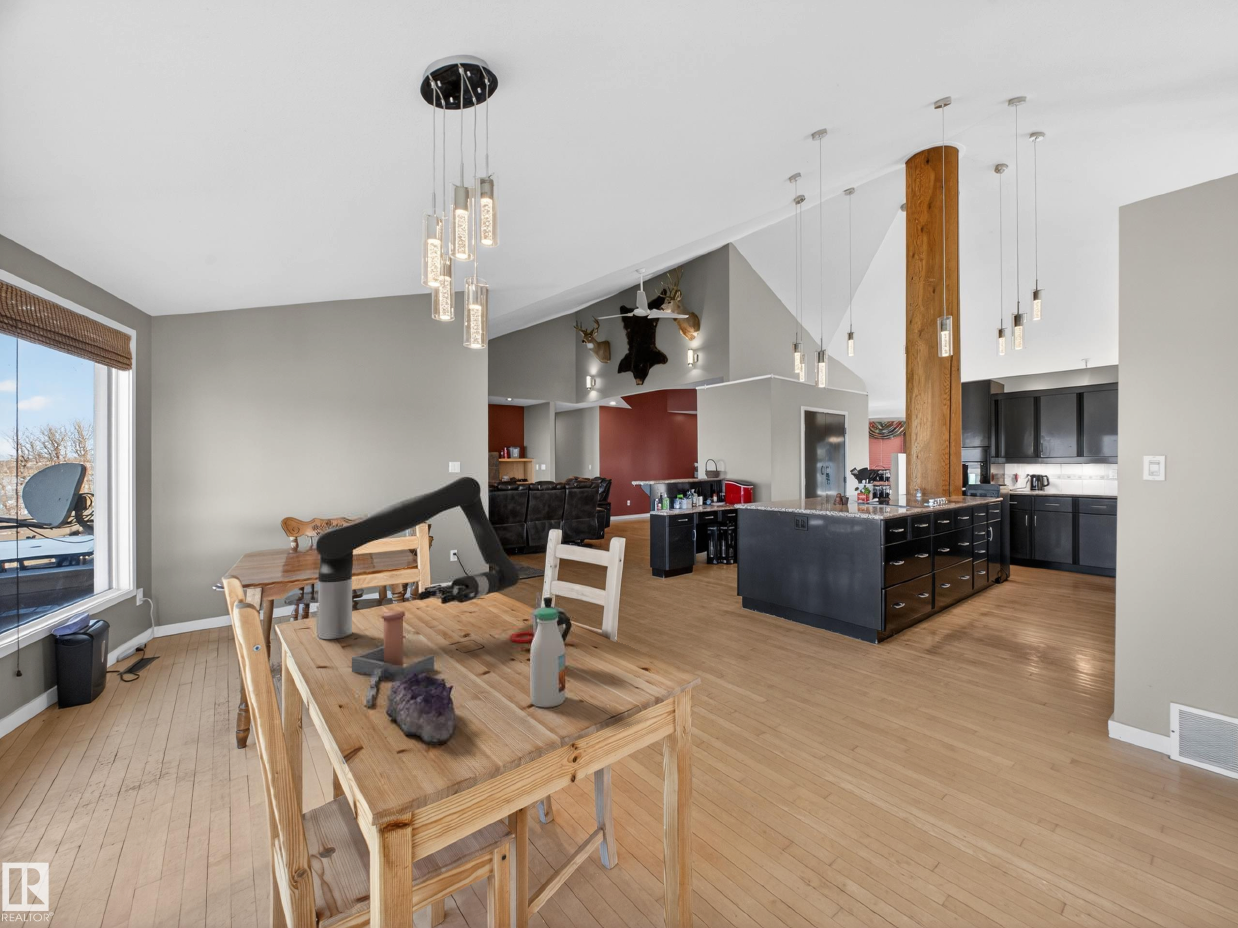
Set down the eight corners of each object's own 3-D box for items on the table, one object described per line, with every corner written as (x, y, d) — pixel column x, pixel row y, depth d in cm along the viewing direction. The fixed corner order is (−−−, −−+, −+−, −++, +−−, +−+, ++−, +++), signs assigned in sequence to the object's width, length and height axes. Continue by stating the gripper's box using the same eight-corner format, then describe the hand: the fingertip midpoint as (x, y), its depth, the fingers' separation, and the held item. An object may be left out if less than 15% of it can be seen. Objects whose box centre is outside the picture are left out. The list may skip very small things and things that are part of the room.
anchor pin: (376, 672, 139) (376, 614, 139) (394, 665, 144) (394, 609, 144) (392, 675, 137) (392, 617, 137) (410, 668, 142) (409, 611, 142)
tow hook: (506, 644, 162) (540, 643, 161) (504, 597, 162) (537, 596, 161) (514, 635, 171) (545, 634, 170) (511, 590, 171) (543, 589, 170)
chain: (364, 707, 118) (364, 699, 118) (371, 679, 134) (371, 672, 134) (373, 706, 119) (373, 698, 119) (379, 678, 135) (379, 671, 135)
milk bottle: (550, 711, 116) (550, 617, 116) (522, 703, 120) (522, 612, 120) (572, 698, 123) (572, 609, 123) (545, 691, 127) (545, 604, 127)
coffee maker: (519, 665, 143) (519, 596, 143) (545, 657, 149) (545, 591, 149) (556, 681, 133) (556, 606, 133) (583, 670, 139) (583, 599, 139)
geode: (479, 731, 108) (473, 683, 107) (421, 760, 100) (415, 709, 99) (435, 695, 123) (429, 653, 122) (382, 718, 115) (376, 673, 114)
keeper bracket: (347, 673, 138) (347, 659, 139) (383, 659, 149) (383, 646, 149) (399, 684, 131) (399, 670, 131) (434, 669, 141) (434, 655, 141)
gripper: (452, 572, 170) (411, 582, 155) (489, 577, 164) (450, 587, 149) (451, 597, 170) (411, 608, 155) (488, 602, 164) (449, 615, 149)
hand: (430, 598), depth 152 cm, fingers open, 8 cm apart
